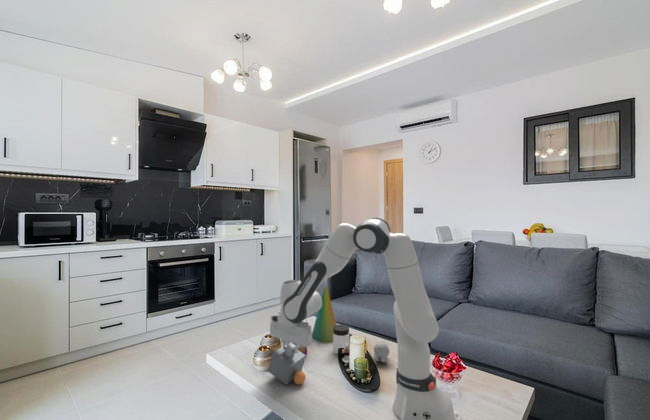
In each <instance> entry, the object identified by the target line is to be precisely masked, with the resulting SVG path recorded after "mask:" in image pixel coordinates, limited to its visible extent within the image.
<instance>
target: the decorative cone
mask: <svg viewBox="0 0 650 420" xmlns="http://www.w3.org/2000/svg"><path fill="white" fill-rule="evenodd" d="M324 285H325V286H324V288H323V293H322V295H321V297H322V301H323V303H322V307H321V309H320V310H319V311H318V312H317V314H316V318H315V323H314V324H313V325H314V326H313V327H312V328H313V329H312V341H315V342H318V343H326V344H327V343H333V327H334V326H335V325H338V324H337V320H336V317H335V313H334V309H333V306H332V301H331V297H330V295H329V291H328V287H327V283H325V284H324Z"/></svg>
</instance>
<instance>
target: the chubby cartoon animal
mask: <svg viewBox="0 0 650 420" xmlns="http://www.w3.org/2000/svg"><path fill="white" fill-rule="evenodd" d="M373 354H374V355H373V356H372V357H373V358H372V359H373V361H375V362H381V363H388V357H389V355H390V348H389V346H388V345H387V344H386V343H384V342H383V341H382V342H377V343H376V344H375V345H374V347H373Z"/></svg>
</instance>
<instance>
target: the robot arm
mask: <svg viewBox="0 0 650 420" xmlns="http://www.w3.org/2000/svg"><path fill="white" fill-rule="evenodd" d="M357 249H358V250H360V251H361V252H364V253H371V254H372V253H373V254H376V255H381V254H382V255H383V256H384V259H385V264H386V269H387V273H388V278H389V282H390V286H391V291H392V294H393V296H394V298H395V301H394V304H393V315H394V324H395V325H394V327H395V334H396V342H397V368H396V371H395V373H396V374H395V376H396V377H395V379H396V391H395V392H396V393H395V398H394V402H393V405H392V410H393V412H394V414H395V415H396V417H397V418H399V420H461V419H462V418H461V415H460V413H459V411H458V410H456V409H454V405H453V402H452V401H453V400H452V399H451V397H450V396H449V395H447V393H445V392H444V391H443V390H442V389H441V388H440V387H439V386H438V385H437V374H435V375H433V374H432V372H431V349H430V346H429V343H430V342H431V343H432V341H434V340H435V339H436V338H437V336H439V335H438V334H439V331H440V327H439V324H438V320H437V318H436V316H435V313H434V310H433V306H432V304H431V302H430V298H429V296H428V294H427V290H426V287H425V285H424V281H423V277H422V273H421V268H420V264H419V260H418V255H417V253H416V250H415V246H414V243H413V240H412V239H411V238H410V236H409V235H408V234H406V233H403V232H402V233H401V232H397V233H395V232H394V233H393V232H391V228H390V225H389V224H388V222H387V221H386V220H384V219H382V218H379V217H373V218H368V219H366V220H363V221H362V222H361V223H360V224H358V225H357V226H355V225H353V224H352V223H348V222H343V223H340V224H338V225H337V226H336V227H335V228H334V229H333V230H332V233H331V234H330V235H329V237H328V238H327V240H326V241H325V243H324V245H323V247H322V249H321V250H320V253H319V254H318V256H317V258H316V259H315V261H314V262H313V264H312V265H311V266H310V268H309V270H308V271H307V272H306V274H305V276H304V277H303V279H302V280H300V279H297V278H296V279H295V278H294V279H289V280H286V281H284V282H283V283H282V285H281V287H280V300H279V301H280V305H281V307H280V311H279V312H277V313H274V314H273V315H271V316H270V320H271V321H270V325H269V334H270V336H271V337H273V338H276V339H279V340H280V342H281V345H282V346H283V350H285V349H286V345H287V343H286V341H289V342H292V343H295V346H296V347H295V348H293V353H295V354H296V353H298V348H299V346H300V345H302V346H305V347H307V348H308V347H309V346H310V345H312V344H313V339H312V332H313V330H312V326H311V325H310V323H308V322H303V320H304V319H306V320H307V319H308V318H309V317H311V316H313V315H314V314H316V313H318V311H319V310H320V309H321V307H322V303H323V301H322V295H321V294H320V292H319V291H317V290H318V288H319V287H320V286H321V285H322V284H323V283H324V282H325V281H327V279H329V278H331V277H332V276H334V275H336V274H338V273H339V272H341V271H342V270H343V269H344V268H345V266H347V264H348V263H349V262H350V259H351V258H352V256H353V255H354V253H355V251H356V250H357Z"/></svg>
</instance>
